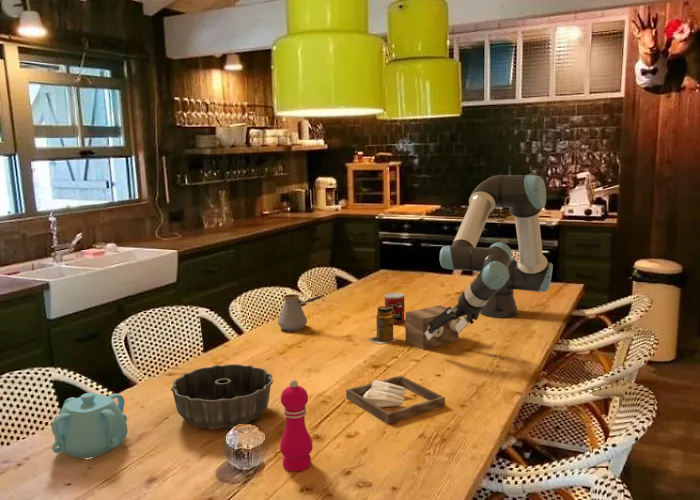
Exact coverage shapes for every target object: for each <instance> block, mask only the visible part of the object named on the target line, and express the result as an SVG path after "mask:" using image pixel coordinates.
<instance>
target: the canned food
mask: <svg viewBox="0 0 700 500" xmlns="http://www.w3.org/2000/svg"><path fill="white" fill-rule="evenodd" d="M384 306H389V307H391V308H392V315H393V325H401V324H403V323H405V294H404V293H401V292H388V293H385V295H384Z"/></svg>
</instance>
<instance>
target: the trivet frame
mask: <svg viewBox="0 0 700 500" xmlns="http://www.w3.org/2000/svg"><path fill="white" fill-rule="evenodd" d="M380 381H383V382H387V383H390V384H394V385H397V386H401V387H404V388H406V390H409V391H411V392H413V393H414V394H416V395H419V397H422V398H423V399H426V401H422V402H419V403H416V404H413V405H409V406H406V407H403V408H399V409H396V410H393V411H387V410H385V409H383V407H381V408H380V407H378V406H377V405H375V404H373V403H372V402H370V401H368V400H367V399H365V398H363V396H364V394H365V393H366V392H367V391H368V390H369V389H370V388H371V385H372V382H369V383H367V384H363V385H359V386H356V387H352V388H351V387H350V388H348V389H346V393H345V394H346V395H345V396H346V397H345V398H346V399H347V400H348V401H350V402H351V403H353V404H355V405H357V406H358V407H359V408H361V409H363V410H364V411H366V412H368V413H370V414H371V415H372V416H374V417H375V418H377V419H378V420H381V421H382V422H383V423H385V424H387V425H389V424H392V423H396V422H399V421H403V420H405V419H409V418H413V417H415V416H418V415H421V414H425V413H428V412H432V411H435V410H437V408H438V409H441V408H444V407H446V397H444V396H443V395H441V394H439V393H436V392H434V391H433V390H430V389H429V388H427V387H425V386H422V385H421V384H419V383H417V382H415V381H413V380H411V379H408V378H407V377H405V376H402V375H401V374H400V375H397V376H393V377H390V378H385V379H382V380H380ZM434 409H435V410H434Z"/></svg>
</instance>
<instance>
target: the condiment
mask: <svg viewBox="0 0 700 500" xmlns="http://www.w3.org/2000/svg"><path fill="white" fill-rule="evenodd" d="M376 313H377V314H376V316H375V317H376V336H375V337H370V338H368V340H369V341H371V342H373V343H375V344H377V345H382V344H386V343H392V342H395V341H399V339H397V338H395V337H394V324H393V315H392V308H391V307H389V306H385V305H381V306H378V307H377V312H376Z"/></svg>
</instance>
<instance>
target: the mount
mask: <svg viewBox="0 0 700 500" xmlns="http://www.w3.org/2000/svg"><path fill="white" fill-rule="evenodd" d="M447 308H448V307H447V306H443V305H442V304H441V305H439V304H438V305H435V306H431V307H425V308H420V309H416V310H411V311H404V323H405V343H406V344H409V345H412V346H414V347H417V348H419V349H421V350H427V349H431V348H434V347H438V346H439V347H440V346H442V345H447V344H451V343H456V342H459V333H458V332H457V330H456V328H455V327H454V326H455V325H456V324H457V323H458V322H459V321H460V320H461V319H462V318H461V317H460V318H458V319H456V320H452V321H450V322H448V323H447V324H445V325H443V328H444V330H443V333H442V335H441V336H439V337H435V336H433V337H432V338H431V339H430V340H428V339H427V337H426V335H425V332H426V331H427V327H428V323H429V322H430V321H431V320H433V319H434V318H436V317H437V316H438V315H440V314H441V313H442V312H444V311H445V310H446V309H447ZM453 315H454V316H455V317H456V315H455V313H454V314H453Z"/></svg>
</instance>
